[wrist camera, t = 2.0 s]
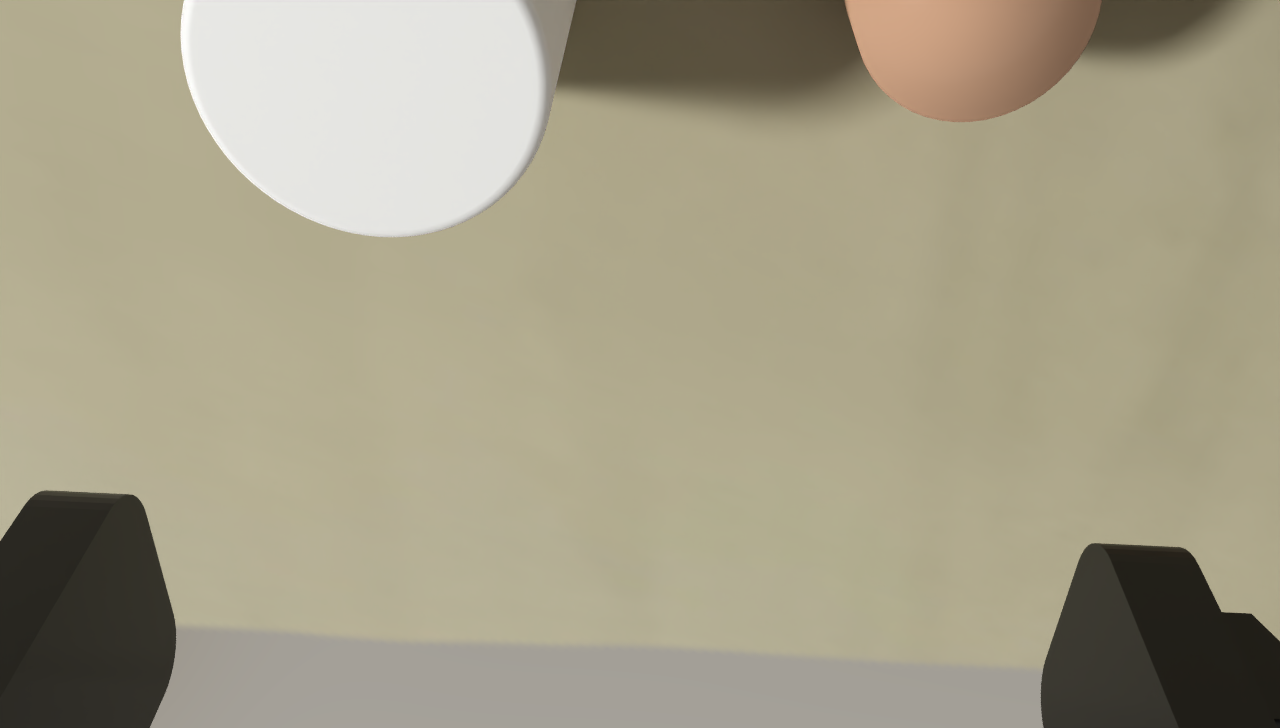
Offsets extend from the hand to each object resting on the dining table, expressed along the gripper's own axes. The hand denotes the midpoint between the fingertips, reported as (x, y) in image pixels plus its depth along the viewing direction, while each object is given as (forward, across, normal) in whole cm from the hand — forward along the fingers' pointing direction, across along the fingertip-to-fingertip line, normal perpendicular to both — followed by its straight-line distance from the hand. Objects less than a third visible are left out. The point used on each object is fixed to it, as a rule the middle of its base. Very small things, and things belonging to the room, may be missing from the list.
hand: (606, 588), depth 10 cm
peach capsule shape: (+28, -8, +2) cm, 29 cm away
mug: (+28, +7, +1) cm, 29 cm away
